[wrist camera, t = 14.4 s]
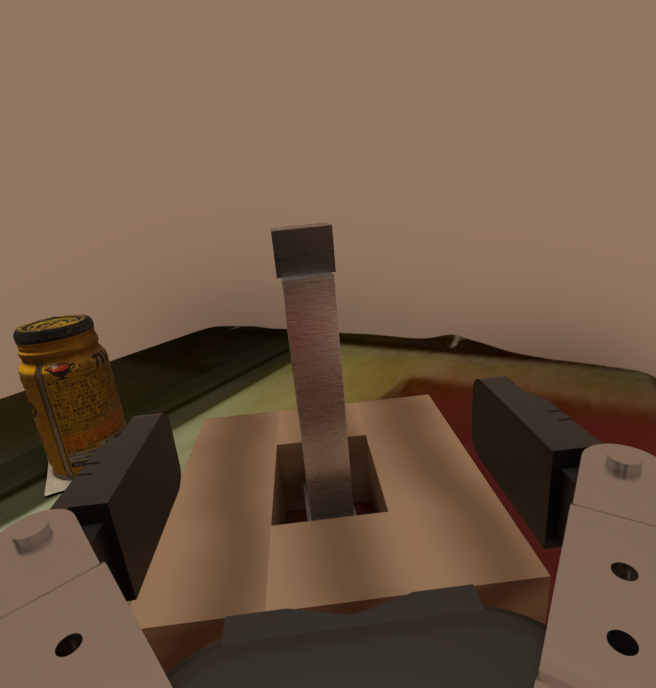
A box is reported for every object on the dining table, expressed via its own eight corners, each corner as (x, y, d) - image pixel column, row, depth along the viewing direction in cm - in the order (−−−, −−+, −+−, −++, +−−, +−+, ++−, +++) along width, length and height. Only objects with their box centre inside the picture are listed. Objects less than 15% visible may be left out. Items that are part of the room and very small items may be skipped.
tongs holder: (149, 723, 18) (119, 631, 16) (216, 479, 33) (204, 419, 31) (540, 669, 18) (550, 575, 17) (429, 454, 33) (428, 394, 32)
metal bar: (315, 581, 23) (271, 233, 17) (308, 523, 27) (270, 226, 22) (363, 572, 24) (335, 226, 18) (349, 516, 28) (322, 221, 22)
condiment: (49, 454, 38) (5, 322, 35) (151, 424, 42) (121, 301, 38) (45, 499, 32) (-10, 344, 28) (164, 459, 36) (131, 318, 32)
